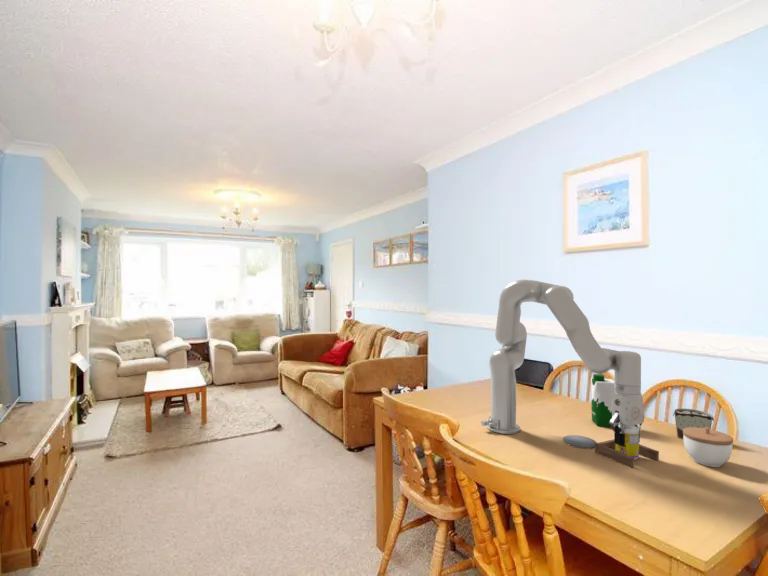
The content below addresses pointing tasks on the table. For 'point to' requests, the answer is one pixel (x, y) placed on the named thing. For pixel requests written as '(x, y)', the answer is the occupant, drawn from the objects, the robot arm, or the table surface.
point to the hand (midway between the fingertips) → (627, 442)
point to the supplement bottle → (630, 442)
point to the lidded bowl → (707, 446)
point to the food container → (691, 420)
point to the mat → (579, 441)
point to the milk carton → (602, 400)
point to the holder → (609, 451)
